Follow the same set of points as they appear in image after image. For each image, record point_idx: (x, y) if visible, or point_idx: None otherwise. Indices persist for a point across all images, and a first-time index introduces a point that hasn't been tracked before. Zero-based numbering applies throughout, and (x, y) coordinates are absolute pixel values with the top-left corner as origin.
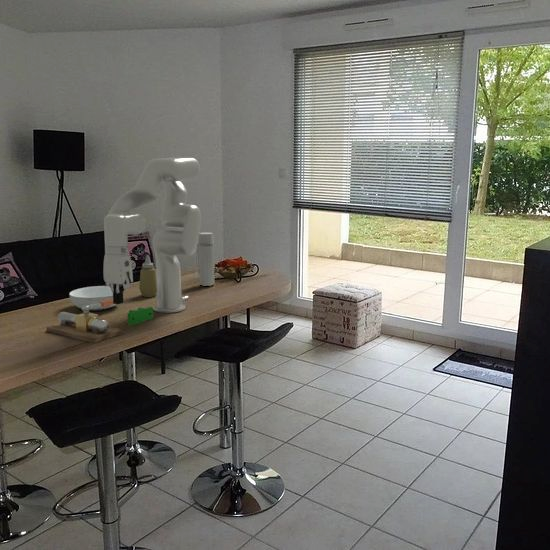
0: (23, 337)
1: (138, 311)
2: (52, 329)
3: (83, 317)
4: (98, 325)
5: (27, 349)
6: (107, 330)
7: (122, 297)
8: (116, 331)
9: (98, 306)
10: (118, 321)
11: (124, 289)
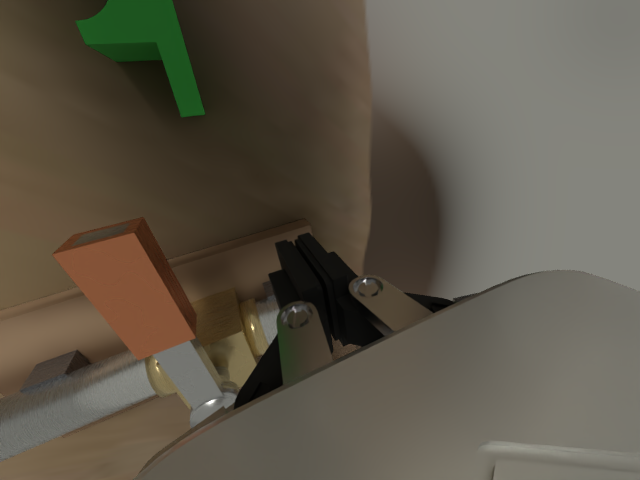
0: (120, 462)
1: (173, 6)
2: (110, 414)
3: None
4: None
5: None
6: None
7: (344, 265)
8: None
9: (201, 347)
10: (57, 112)
11: (416, 299)
